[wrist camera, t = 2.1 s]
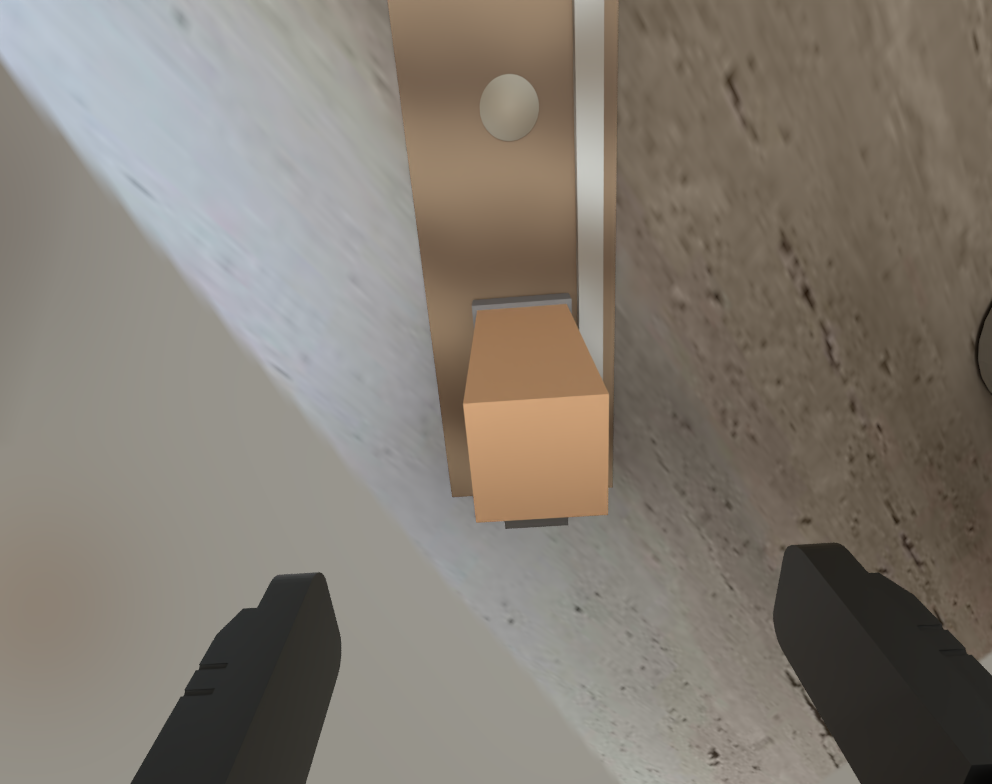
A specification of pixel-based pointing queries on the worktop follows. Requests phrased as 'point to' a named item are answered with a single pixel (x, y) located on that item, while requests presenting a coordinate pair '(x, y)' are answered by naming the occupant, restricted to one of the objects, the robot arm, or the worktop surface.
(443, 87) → the wooden slider board
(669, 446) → the worktop surface
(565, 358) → the block
